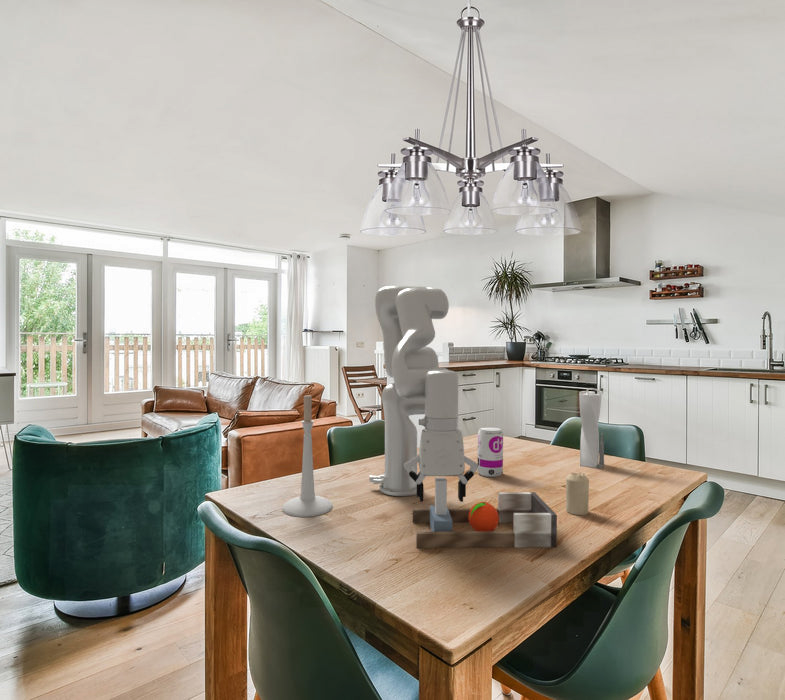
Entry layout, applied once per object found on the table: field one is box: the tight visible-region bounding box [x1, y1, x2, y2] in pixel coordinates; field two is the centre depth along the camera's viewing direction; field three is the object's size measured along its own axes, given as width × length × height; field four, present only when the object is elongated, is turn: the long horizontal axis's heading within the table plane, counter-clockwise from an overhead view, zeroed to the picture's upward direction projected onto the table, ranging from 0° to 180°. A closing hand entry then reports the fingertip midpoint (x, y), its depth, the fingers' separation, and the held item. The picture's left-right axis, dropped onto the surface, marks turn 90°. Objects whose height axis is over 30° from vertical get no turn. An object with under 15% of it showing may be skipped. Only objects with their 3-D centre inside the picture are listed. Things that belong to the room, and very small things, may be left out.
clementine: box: [468, 501, 500, 531], centre depth 113 cm, size 8×7×7 cm
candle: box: [565, 472, 590, 516], centre depth 127 cm, size 6×6×10 cm
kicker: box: [429, 477, 453, 531], centre depth 112 cm, size 4×10×12 cm, turn 1°
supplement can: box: [476, 426, 504, 478], centre depth 162 cm, size 8×8×15 cm
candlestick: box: [282, 394, 333, 518], centre depth 129 cm, size 13×13×30 cm
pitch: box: [411, 491, 558, 549], centre depth 113 cm, size 30×15×7 cm, turn 91°
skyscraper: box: [578, 387, 605, 470], centre depth 173 cm, size 8×8×28 cm
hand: (440, 499), depth 112 cm, fingers open, 8 cm apart
